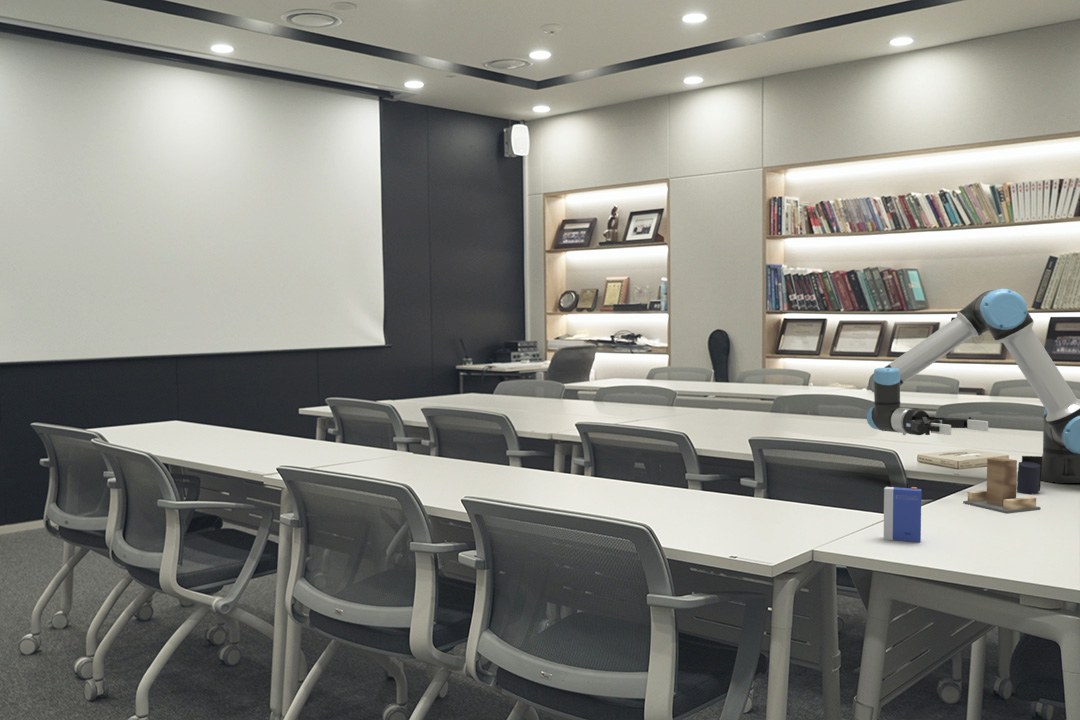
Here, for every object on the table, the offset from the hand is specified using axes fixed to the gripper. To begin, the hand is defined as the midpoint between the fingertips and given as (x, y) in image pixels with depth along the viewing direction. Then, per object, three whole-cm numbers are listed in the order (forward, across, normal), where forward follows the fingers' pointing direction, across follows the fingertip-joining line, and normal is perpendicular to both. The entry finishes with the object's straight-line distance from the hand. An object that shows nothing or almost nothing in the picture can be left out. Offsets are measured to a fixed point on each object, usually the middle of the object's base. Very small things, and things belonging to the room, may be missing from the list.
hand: (969, 428), depth 254 cm
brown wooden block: (+10, 0, -20) cm, 22 cm away
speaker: (-1, -24, -21) cm, 32 cm away
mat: (+10, 0, -20) cm, 22 cm away
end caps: (+10, 0, -20) cm, 22 cm away
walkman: (+28, +51, -19) cm, 61 cm away
